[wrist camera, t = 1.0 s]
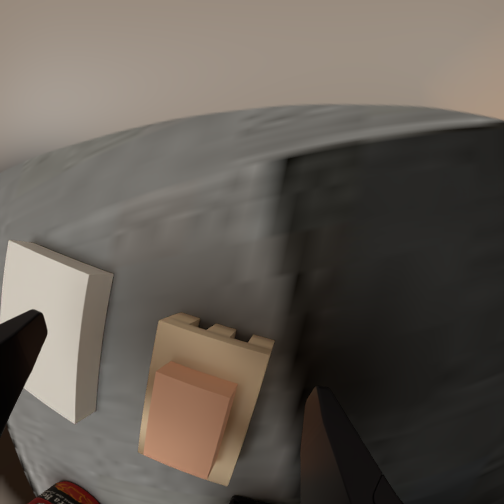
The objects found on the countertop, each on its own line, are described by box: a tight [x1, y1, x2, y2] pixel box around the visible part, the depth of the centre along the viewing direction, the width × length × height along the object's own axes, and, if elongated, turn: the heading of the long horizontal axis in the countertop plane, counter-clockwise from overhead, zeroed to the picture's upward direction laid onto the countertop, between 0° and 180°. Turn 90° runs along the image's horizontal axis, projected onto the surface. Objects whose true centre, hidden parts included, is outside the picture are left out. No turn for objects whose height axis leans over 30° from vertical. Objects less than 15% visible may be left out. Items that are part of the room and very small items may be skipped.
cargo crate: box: [143, 361, 238, 480], centre depth 15 cm, size 6×4×2 cm, turn 165°
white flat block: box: [0, 240, 114, 424], centre depth 20 cm, size 12×10×3 cm
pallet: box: [138, 312, 275, 486], centre depth 18 cm, size 10×6×4 cm, turn 165°
